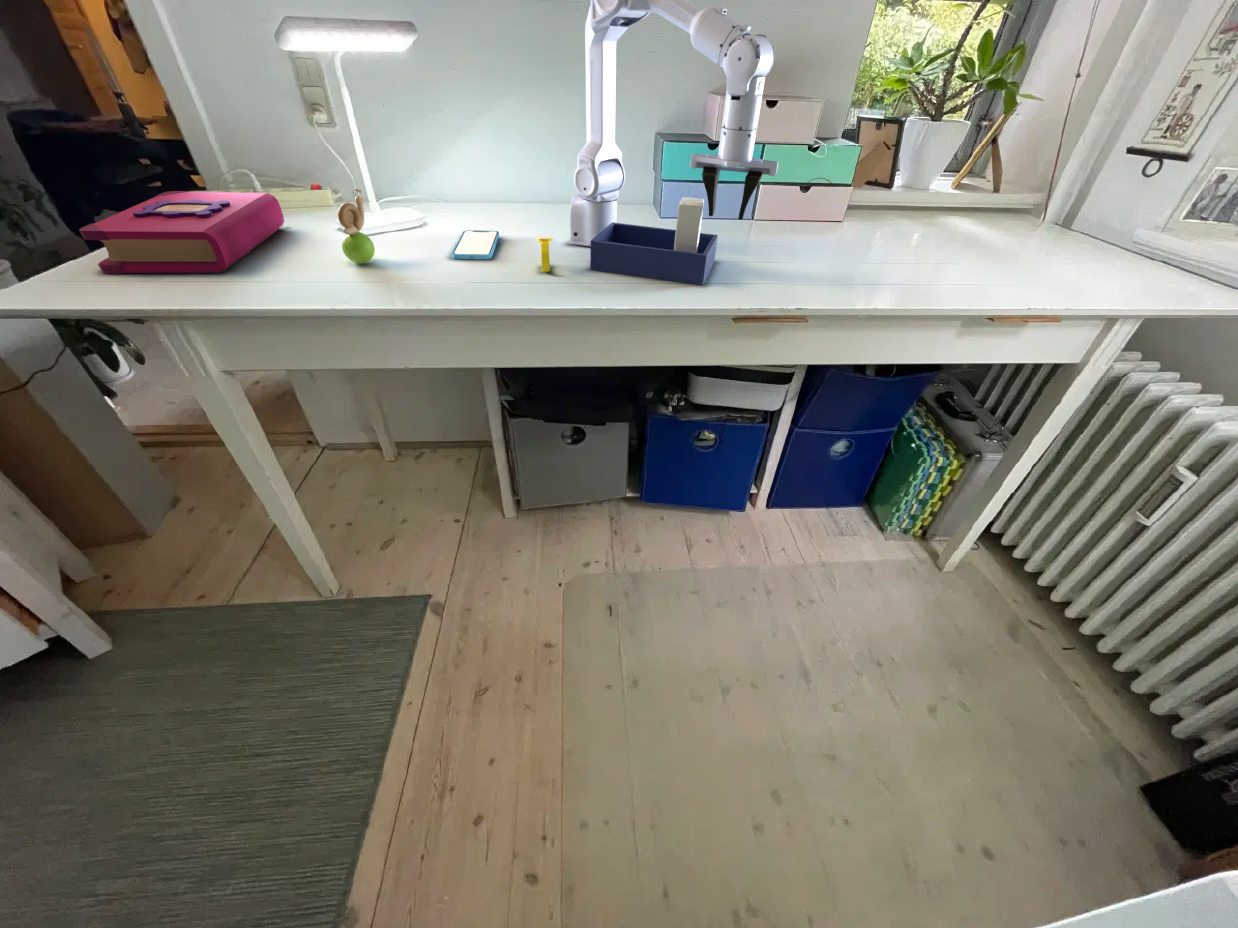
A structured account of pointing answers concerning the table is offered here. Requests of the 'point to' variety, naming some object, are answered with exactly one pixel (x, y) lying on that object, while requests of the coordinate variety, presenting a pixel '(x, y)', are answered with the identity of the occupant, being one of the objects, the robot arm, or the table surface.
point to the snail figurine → (355, 232)
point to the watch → (545, 251)
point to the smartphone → (476, 245)
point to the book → (186, 232)
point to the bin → (650, 254)
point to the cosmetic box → (688, 224)
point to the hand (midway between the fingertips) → (726, 216)
